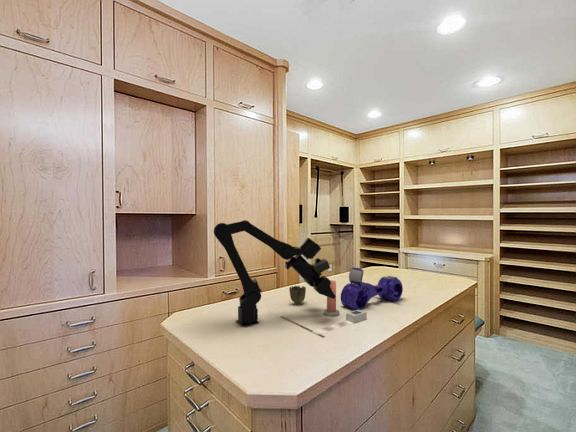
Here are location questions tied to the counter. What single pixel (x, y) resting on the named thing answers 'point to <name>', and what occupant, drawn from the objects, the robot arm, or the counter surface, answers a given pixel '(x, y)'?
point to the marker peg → (331, 302)
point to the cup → (297, 294)
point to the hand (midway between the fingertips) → (330, 294)
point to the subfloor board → (323, 330)
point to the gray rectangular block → (356, 316)
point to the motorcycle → (368, 290)
